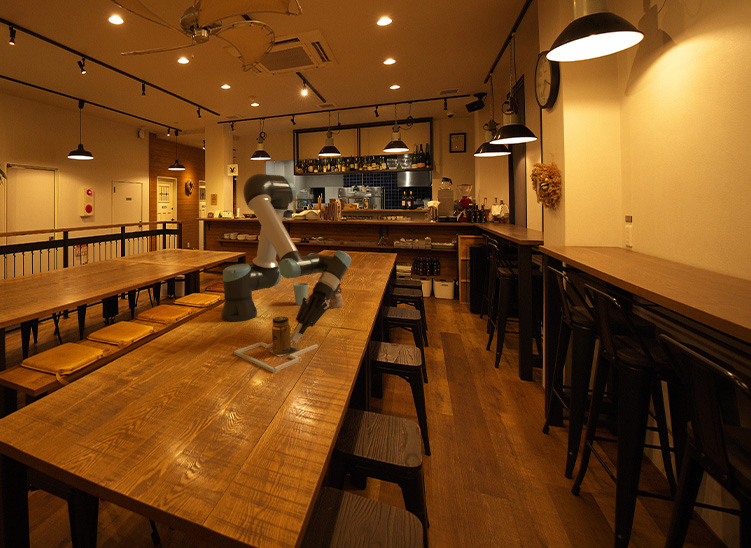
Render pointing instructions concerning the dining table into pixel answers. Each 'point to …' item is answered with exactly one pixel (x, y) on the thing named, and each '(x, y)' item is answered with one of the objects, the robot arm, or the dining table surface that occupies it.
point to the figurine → (336, 298)
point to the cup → (300, 292)
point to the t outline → (261, 364)
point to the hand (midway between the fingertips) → (293, 340)
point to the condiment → (281, 337)
